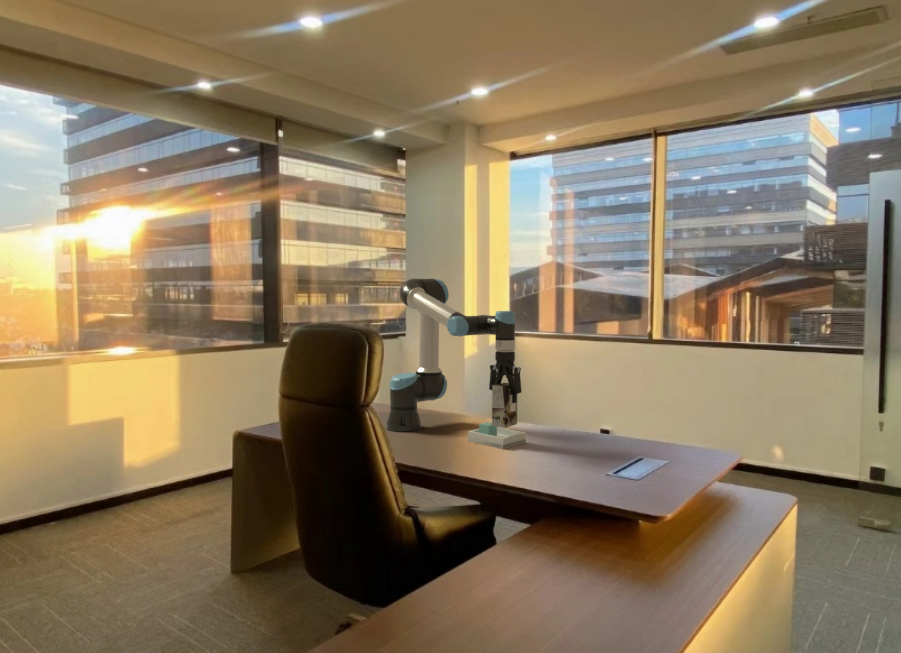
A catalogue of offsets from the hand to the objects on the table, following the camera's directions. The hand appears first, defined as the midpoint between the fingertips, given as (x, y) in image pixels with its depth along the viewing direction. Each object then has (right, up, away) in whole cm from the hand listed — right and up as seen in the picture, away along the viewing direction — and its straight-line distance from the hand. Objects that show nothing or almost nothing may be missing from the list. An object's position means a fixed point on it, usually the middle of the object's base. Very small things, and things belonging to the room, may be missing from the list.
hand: (504, 409), depth 243 cm
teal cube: (-6, -11, +7) cm, 15 cm away
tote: (-3, -13, +4) cm, 14 cm away
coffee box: (0, -6, 0) cm, 6 cm away
